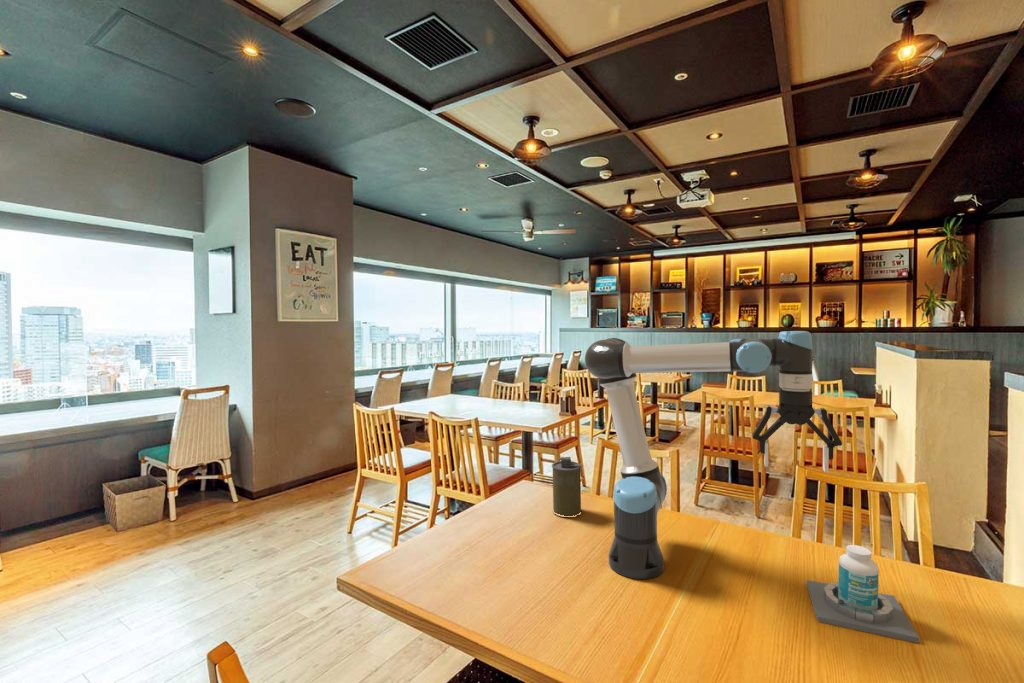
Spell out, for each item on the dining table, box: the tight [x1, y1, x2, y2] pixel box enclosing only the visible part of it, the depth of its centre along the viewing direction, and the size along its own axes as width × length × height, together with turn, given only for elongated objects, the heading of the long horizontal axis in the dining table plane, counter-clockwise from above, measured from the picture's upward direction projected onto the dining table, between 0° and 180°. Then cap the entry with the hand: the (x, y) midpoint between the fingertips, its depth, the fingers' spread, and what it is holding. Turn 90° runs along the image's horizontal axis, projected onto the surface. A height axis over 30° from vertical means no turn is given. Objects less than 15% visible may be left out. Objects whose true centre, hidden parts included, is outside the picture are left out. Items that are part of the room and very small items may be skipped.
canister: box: [551, 456, 584, 516], centre depth 166 cm, size 11×10×20 cm
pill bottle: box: [838, 544, 880, 611], centre depth 107 cm, size 8×7×14 cm
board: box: [806, 579, 920, 644], centre depth 108 cm, size 18×16×1 cm
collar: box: [824, 581, 893, 624], centre depth 107 cm, size 12×12×3 cm
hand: (795, 468), depth 123 cm, fingers open, 13 cm apart
